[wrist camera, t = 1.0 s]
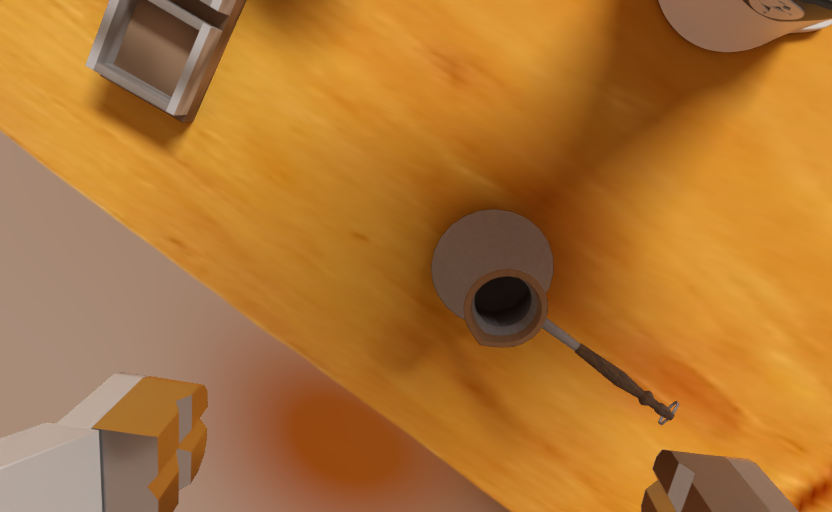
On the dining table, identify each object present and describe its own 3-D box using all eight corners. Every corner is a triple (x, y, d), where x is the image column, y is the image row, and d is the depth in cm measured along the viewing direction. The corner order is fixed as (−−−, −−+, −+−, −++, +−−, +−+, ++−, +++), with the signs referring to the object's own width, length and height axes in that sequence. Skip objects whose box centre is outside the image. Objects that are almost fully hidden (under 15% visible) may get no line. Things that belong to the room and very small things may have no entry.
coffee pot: (409, 276, 53) (400, 342, 39) (473, 180, 50) (488, 213, 36) (580, 379, 56) (631, 476, 41) (650, 293, 53) (731, 367, 38)
